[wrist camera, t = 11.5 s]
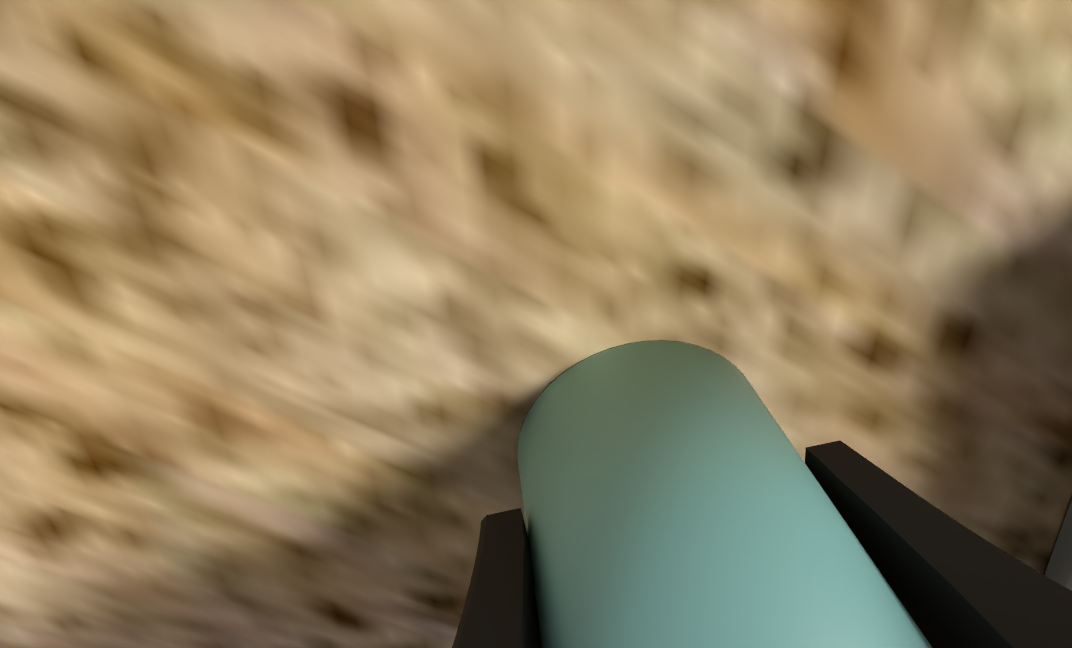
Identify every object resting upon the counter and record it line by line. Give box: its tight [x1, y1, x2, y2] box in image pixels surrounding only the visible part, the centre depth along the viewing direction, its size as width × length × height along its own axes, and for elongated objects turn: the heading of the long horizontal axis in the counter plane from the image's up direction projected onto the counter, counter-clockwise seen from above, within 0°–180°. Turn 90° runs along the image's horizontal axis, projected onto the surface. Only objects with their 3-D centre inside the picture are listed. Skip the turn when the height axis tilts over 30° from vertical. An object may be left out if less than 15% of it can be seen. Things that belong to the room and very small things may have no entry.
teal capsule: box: [517, 340, 932, 648], centre depth 10 cm, size 5×5×7 cm
